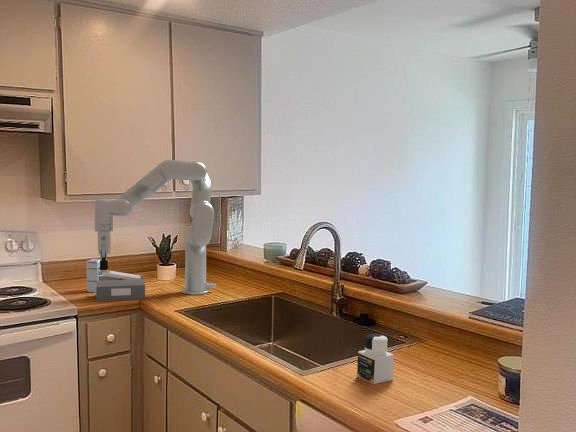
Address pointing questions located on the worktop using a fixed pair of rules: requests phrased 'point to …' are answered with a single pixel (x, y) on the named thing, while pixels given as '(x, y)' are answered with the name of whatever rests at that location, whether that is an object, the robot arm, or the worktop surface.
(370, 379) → the medicine bottle
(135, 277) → the rocker switch
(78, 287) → the worktop surface
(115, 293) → the breaker box
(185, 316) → the worktop surface
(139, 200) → the robot arm
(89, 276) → the syrup box
